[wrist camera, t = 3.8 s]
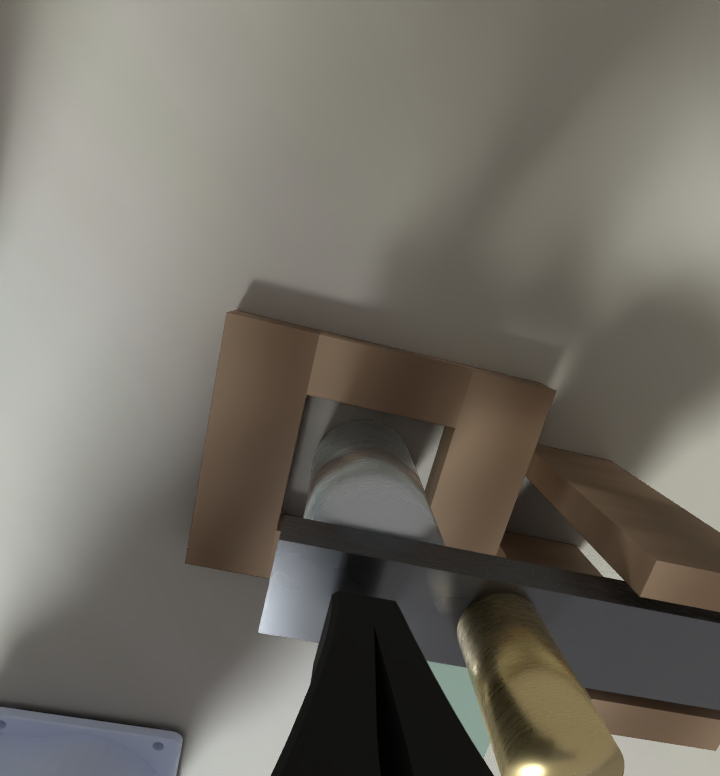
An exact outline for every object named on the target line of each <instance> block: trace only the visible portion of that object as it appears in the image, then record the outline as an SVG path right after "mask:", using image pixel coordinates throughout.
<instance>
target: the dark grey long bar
mask: <svg viewBox="0 0 720 776" xmlns="http://www.w3.org/2000/svg"><path fill="white" fill-rule="evenodd" d="M337 591H342V592H348V593H354V594H359V595H365V596H370V597H376V598H382V599H387V600H393V601H396V602H397V604H398V606H399V607H400V609H401V611H402V613H403V615H404V617H405V619H406V622H407V624H408V626H409V628H410V630H411V632H412V634H413V636H414V637H415V639H416V641H417V643H418V645H419V647H420V649H421V651H422V653H423V655H424V657H425V659H426V661H429V662H435V663H441V664H447V665H453V666H459V667H465V668H467V670H468V673H469V676H470V679H471V683H472V686H473V689H474V692H475V695H476V698H477V701H478V705H479V708H480V711H481V714H482V717H483V720H484V723H485V726H486V730H487V733H488V736H489V739H490V742H491V745H492V748H493V752H494V755H495V758H496V761H497V764H498V767H499V770H500V773H501V776H623V774H624V759H623V755H622V753H621V751H620V749H619V748H618V746H617V744H616V742H615V741H614V739H613V737H612V736H611V734H610V732H609V731H608V729H607V727H606V726H605V724H604V722H603V721H602V719H601V717H600V715H599V714H598V712H597V710H596V709H595V707H594V705H593V704H592V702H591V700H590V699H589V697H588V695H587V694H586V692H585V690H584V688H590V689H596V690H602V691H608V692H613V693H619V694H625V695H631V696H637V697H643V698H649V699H655V700H661V701H667V702H673V703H679V704H685V705H691V706H697V707H703V708H709V709H714V710H720V612H717V611H711V610H706V609H701V608H696V607H691V606H685V605H680V604H675V603H670V602H665V601H660V600H654V599H649V598H644V597H640V596H639V595H638V594H637V593H636V592H635V591H634V590H633V589H632V588H631V587H630V586H629V585H628V584H627V583H626V582H625V581H621V580H616V579H611V578H606V577H601V576H596V575H591V574H586V573H581V572H575V571H570V570H565V569H560V568H555V567H550V566H545V565H540V564H535V563H530V562H524V561H519V560H514V559H509V558H504V557H499V556H494V555H489V554H484V553H479V552H473V551H468V550H463V549H458V548H453V547H448V546H443V545H438V544H433V543H428V542H422V541H417V540H412V539H407V538H402V537H397V536H392V535H387V534H382V533H377V532H371V531H366V530H361V529H356V528H351V527H346V526H341V525H336V524H331V523H326V522H320V521H315V520H310V519H305V518H300V517H295V516H290V515H285V518H284V522H283V525H282V529H281V533H280V537H279V541H278V546H277V550H276V554H275V559H274V563H273V568H272V572H271V577H270V581H269V586H268V590H267V595H266V599H265V604H264V608H263V613H262V617H261V622H260V626H259V631H258V633H263V634H269V635H275V636H281V637H287V638H293V639H299V640H305V641H310V642H316V643H319V641H320V637H321V634H322V630H323V626H324V622H325V618H326V615H327V611H328V607H329V603H330V599H331V596H332V594H334V593H335V592H337ZM583 687H584V688H583Z"/></svg>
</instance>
